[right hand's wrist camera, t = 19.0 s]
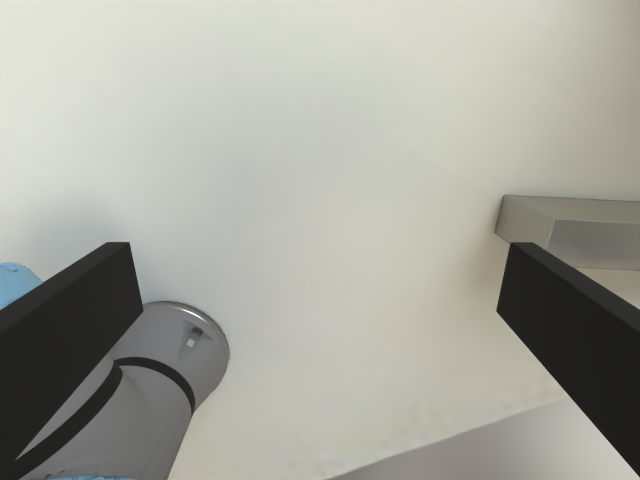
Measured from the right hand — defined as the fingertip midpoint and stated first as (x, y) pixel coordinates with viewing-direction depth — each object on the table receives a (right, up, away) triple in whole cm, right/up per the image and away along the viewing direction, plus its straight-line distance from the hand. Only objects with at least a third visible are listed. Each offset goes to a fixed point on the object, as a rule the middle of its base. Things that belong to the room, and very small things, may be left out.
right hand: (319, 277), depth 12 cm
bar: (+34, +4, +29) cm, 45 cm away
